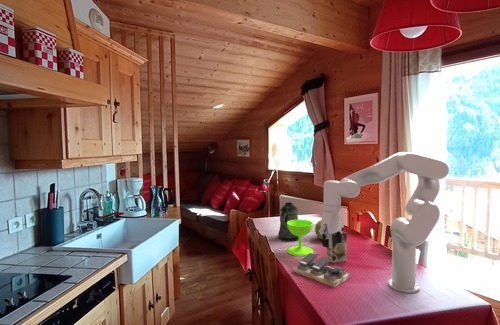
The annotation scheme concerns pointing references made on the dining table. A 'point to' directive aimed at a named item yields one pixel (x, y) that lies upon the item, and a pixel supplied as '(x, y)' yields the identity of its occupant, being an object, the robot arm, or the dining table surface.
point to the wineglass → (300, 236)
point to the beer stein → (286, 215)
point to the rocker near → (334, 268)
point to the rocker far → (307, 259)
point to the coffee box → (337, 248)
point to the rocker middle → (320, 264)
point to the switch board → (323, 274)
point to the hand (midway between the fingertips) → (332, 244)
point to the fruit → (318, 229)
